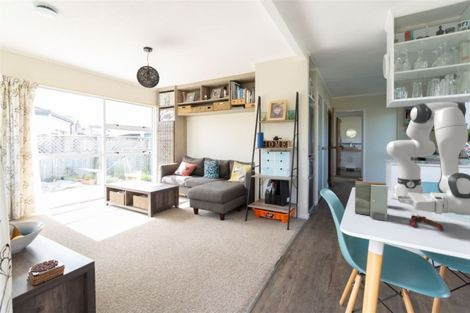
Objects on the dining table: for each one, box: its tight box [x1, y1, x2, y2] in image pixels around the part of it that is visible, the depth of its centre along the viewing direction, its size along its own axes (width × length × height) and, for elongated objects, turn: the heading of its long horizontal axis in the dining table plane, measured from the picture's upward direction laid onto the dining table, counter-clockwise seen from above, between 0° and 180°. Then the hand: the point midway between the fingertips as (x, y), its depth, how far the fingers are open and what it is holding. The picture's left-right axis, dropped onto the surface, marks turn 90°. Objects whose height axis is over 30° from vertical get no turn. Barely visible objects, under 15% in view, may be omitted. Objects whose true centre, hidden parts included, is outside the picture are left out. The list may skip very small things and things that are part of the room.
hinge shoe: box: [371, 213, 385, 221], centre depth 113 cm, size 5×5×3 cm
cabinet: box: [354, 180, 387, 216], centre depth 119 cm, size 8×14×17 cm, turn 60°
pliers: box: [408, 212, 444, 232], centre depth 107 cm, size 12×20×3 cm, turn 155°
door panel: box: [369, 185, 389, 221], centre depth 112 cm, size 3×7×17 cm, turn 61°
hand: (398, 198), depth 108 cm, fingers open, 4 cm apart
